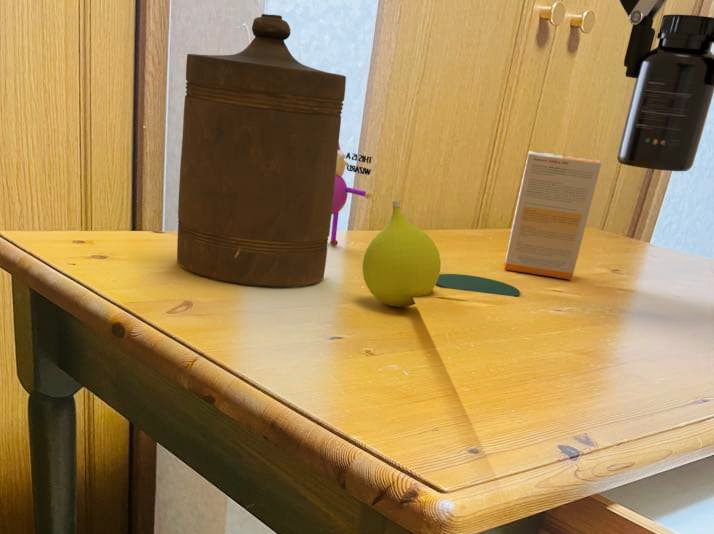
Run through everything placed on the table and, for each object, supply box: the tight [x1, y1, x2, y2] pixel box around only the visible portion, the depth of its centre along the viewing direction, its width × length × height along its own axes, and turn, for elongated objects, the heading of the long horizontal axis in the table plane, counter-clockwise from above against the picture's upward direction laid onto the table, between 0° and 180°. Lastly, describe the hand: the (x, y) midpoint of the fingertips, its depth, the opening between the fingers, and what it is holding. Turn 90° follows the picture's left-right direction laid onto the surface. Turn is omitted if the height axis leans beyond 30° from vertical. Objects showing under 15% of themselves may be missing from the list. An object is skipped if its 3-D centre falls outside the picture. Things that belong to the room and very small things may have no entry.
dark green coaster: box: [435, 273, 521, 298], centre depth 91 cm, size 10×10×1 cm
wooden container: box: [176, 13, 347, 288], centre depth 80 cm, size 15×15×22 cm
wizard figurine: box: [329, 143, 373, 247], centre depth 99 cm, size 11×3×12 cm, turn 49°
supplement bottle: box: [616, 13, 714, 172], centre depth 76 cm, size 7×7×12 cm
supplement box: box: [504, 150, 602, 281], centre depth 100 cm, size 8×5×13 cm, turn 77°
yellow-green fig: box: [362, 196, 442, 308], centre depth 76 cm, size 7×7×10 cm
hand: (675, 79), depth 75 cm, fingers closed on supplement bottle, 6 cm apart
